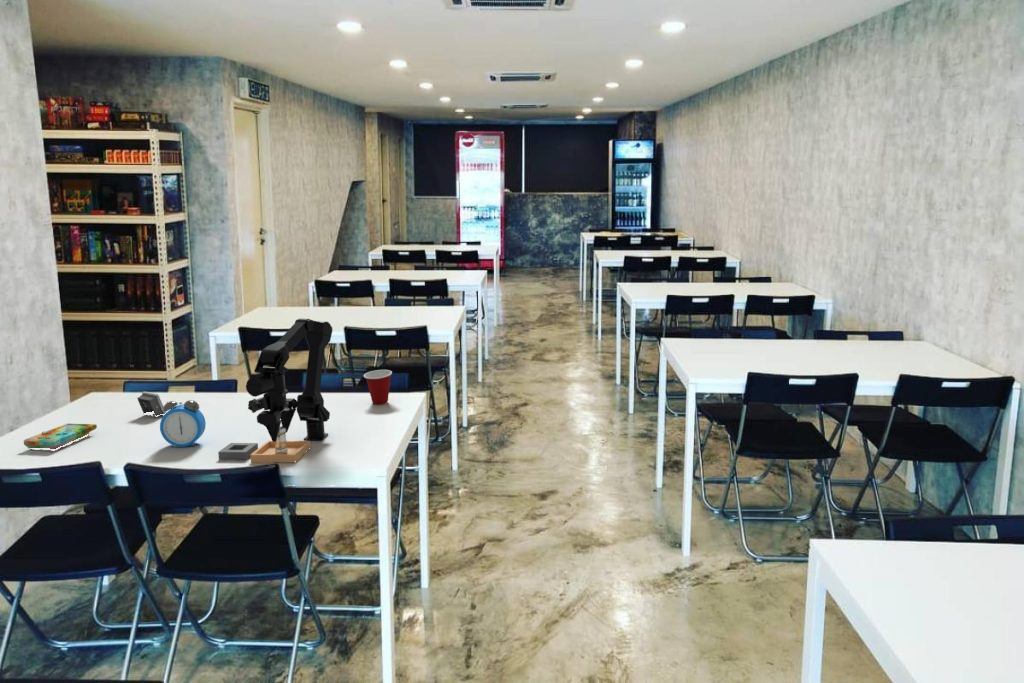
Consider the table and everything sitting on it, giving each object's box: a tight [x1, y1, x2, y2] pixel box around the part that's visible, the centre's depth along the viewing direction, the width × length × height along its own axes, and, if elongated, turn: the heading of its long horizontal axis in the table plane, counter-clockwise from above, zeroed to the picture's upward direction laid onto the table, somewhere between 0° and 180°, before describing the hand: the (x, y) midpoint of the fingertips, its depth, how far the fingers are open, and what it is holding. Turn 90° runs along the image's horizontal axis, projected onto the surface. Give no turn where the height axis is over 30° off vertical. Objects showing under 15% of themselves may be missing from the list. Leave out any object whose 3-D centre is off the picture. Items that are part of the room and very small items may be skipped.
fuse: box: [275, 426, 288, 454], centre depth 260 cm, size 4×4×8 cm
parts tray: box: [250, 440, 311, 464], centre depth 260 cm, size 14×14×2 cm
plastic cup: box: [363, 369, 393, 406], centre depth 318 cm, size 11×11×12 cm
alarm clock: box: [159, 399, 207, 448], centre depth 273 cm, size 13×6×15 cm, turn 93°
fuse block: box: [217, 442, 259, 461], centre depth 262 cm, size 9×9×2 cm
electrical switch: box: [136, 391, 167, 416], centre depth 310 cm, size 9×5×9 cm, turn 57°
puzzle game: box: [23, 422, 98, 449], centre depth 281 cm, size 12×5×20 cm
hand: (280, 436), depth 259 cm, fingers open, 9 cm apart
